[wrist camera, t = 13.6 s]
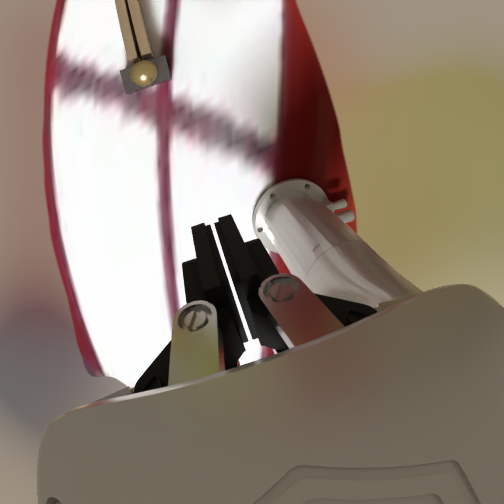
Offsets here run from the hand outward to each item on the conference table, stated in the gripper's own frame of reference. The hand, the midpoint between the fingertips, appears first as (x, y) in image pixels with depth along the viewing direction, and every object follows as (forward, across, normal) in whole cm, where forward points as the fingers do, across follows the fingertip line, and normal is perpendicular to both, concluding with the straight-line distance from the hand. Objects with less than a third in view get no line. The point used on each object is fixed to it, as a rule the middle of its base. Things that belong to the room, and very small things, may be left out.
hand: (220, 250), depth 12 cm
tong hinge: (+27, +2, -10) cm, 29 cm away
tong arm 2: (+27, +3, -20) cm, 33 cm away
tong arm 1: (+27, +2, -20) cm, 33 cm away
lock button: (+23, +3, -10) cm, 25 cm away
